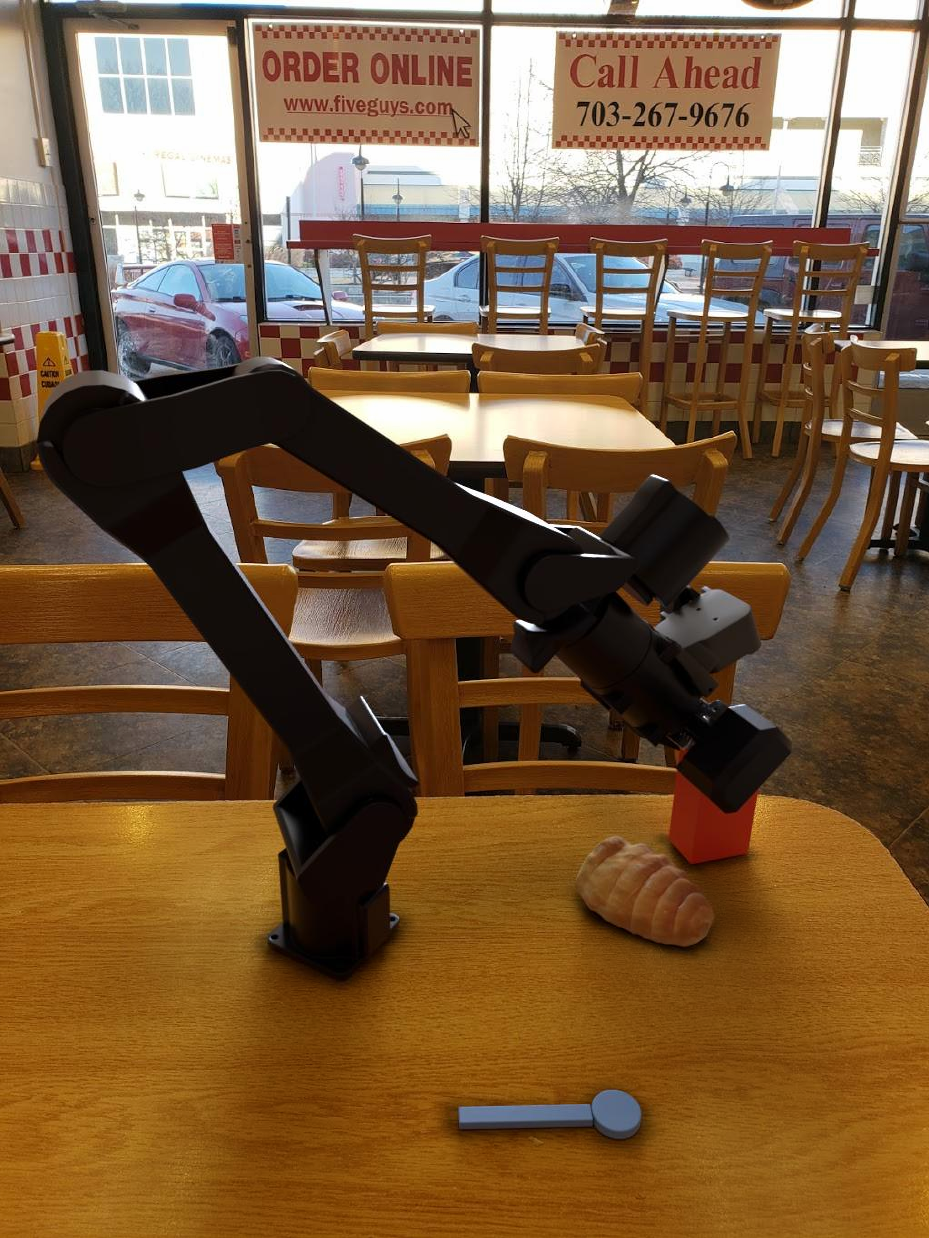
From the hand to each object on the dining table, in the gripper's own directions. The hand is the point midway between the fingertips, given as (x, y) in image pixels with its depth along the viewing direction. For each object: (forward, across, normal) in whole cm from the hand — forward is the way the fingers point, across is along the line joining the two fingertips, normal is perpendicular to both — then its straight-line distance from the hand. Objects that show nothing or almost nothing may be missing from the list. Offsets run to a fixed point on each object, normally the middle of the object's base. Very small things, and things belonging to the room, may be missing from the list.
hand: (734, 769), depth 70 cm
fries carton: (+4, 0, +6) cm, 7 cm away
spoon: (-12, -18, +21) cm, 30 cm away
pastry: (-2, -4, +12) cm, 13 cm away
